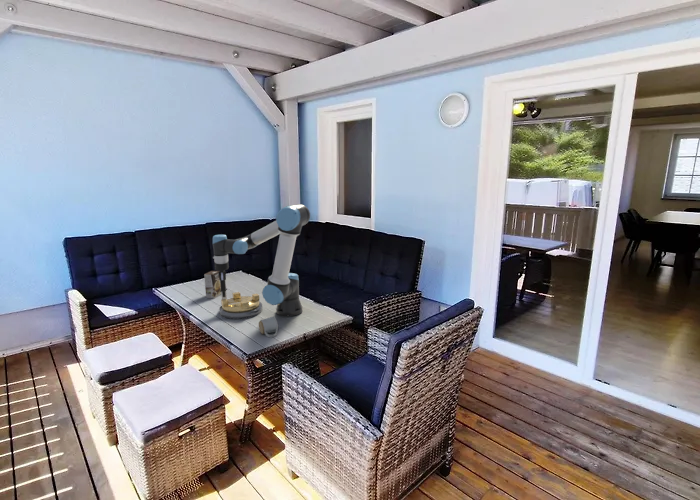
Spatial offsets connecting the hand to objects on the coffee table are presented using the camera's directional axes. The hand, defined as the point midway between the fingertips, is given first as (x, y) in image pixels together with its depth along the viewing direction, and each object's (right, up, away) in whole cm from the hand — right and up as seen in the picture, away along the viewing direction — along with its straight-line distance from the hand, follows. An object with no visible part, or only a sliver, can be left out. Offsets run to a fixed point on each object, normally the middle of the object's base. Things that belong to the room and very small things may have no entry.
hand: (224, 301), depth 211 cm
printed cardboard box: (-17, -1, +30) cm, 34 cm away
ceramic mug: (+32, -13, -25) cm, 43 cm away
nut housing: (+9, -6, +3) cm, 11 cm away
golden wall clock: (+9, -3, +3) cm, 10 cm away
